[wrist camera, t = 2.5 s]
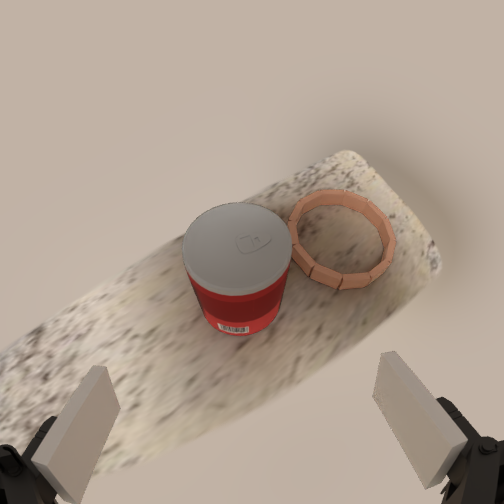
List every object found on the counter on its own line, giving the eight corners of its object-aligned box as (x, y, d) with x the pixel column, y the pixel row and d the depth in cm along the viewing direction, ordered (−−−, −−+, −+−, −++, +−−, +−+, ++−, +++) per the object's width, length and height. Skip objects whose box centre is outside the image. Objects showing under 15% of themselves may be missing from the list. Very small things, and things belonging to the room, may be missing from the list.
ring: (335, 310, 30) (340, 302, 28) (266, 227, 36) (266, 216, 34) (407, 253, 34) (413, 244, 32) (341, 187, 39) (344, 177, 38)
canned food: (294, 310, 30) (315, 253, 21) (227, 353, 28) (215, 314, 18) (252, 257, 33) (253, 186, 24) (189, 293, 31) (163, 231, 22)
